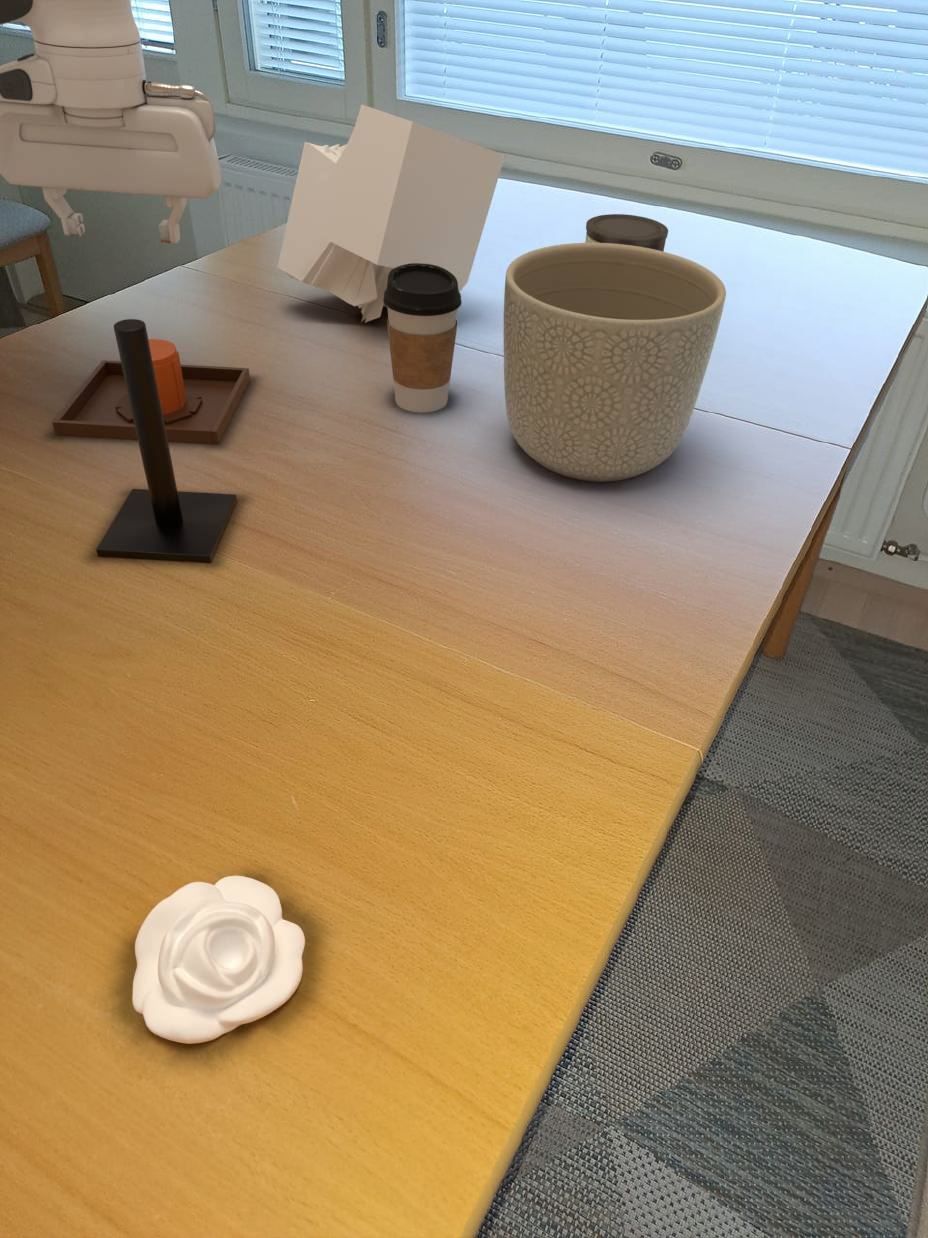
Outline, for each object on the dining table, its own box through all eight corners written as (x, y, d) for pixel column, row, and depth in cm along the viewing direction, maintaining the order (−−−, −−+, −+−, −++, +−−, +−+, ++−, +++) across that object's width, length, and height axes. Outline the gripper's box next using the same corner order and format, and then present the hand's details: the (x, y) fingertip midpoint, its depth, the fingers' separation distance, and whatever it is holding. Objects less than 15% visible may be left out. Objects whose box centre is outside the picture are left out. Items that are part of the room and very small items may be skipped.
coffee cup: (442, 385, 110) (446, 258, 100) (468, 417, 104) (474, 286, 94) (375, 394, 108) (372, 265, 98) (398, 428, 102) (397, 294, 92)
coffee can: (665, 338, 123) (685, 230, 114) (609, 355, 118) (626, 244, 109) (612, 313, 130) (628, 208, 120) (557, 328, 125) (569, 220, 116)
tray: (57, 441, 96) (51, 422, 95) (106, 378, 108) (102, 359, 107) (219, 450, 96) (216, 431, 95) (251, 386, 108) (248, 367, 106)
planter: (454, 443, 99) (460, 267, 87) (587, 392, 110) (609, 229, 98) (592, 531, 88) (622, 341, 75) (726, 464, 98) (771, 288, 86)
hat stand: (99, 563, 81) (40, 347, 68) (135, 501, 88) (88, 297, 76) (212, 569, 81) (174, 355, 68) (238, 507, 88) (209, 303, 75)
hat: (107, 422, 98) (93, 365, 94) (133, 386, 105) (121, 330, 101) (188, 427, 98) (178, 369, 94) (209, 390, 105) (200, 335, 101)
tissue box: (267, 289, 124) (308, 86, 113) (358, 303, 135) (403, 120, 125) (356, 340, 113) (411, 121, 102) (447, 351, 124) (505, 154, 113)
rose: (164, 836, 54) (323, 863, 53) (177, 879, 57) (328, 906, 56) (81, 996, 46) (265, 1032, 45) (101, 1036, 49) (274, 1071, 48)
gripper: (220, 79, 83) (235, 235, 92) (-4, 62, 83) (34, 220, 92) (202, 93, 79) (220, 256, 88) (-35, 75, 79) (7, 240, 88)
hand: (123, 237), depth 90 cm, fingers open, 8 cm apart
